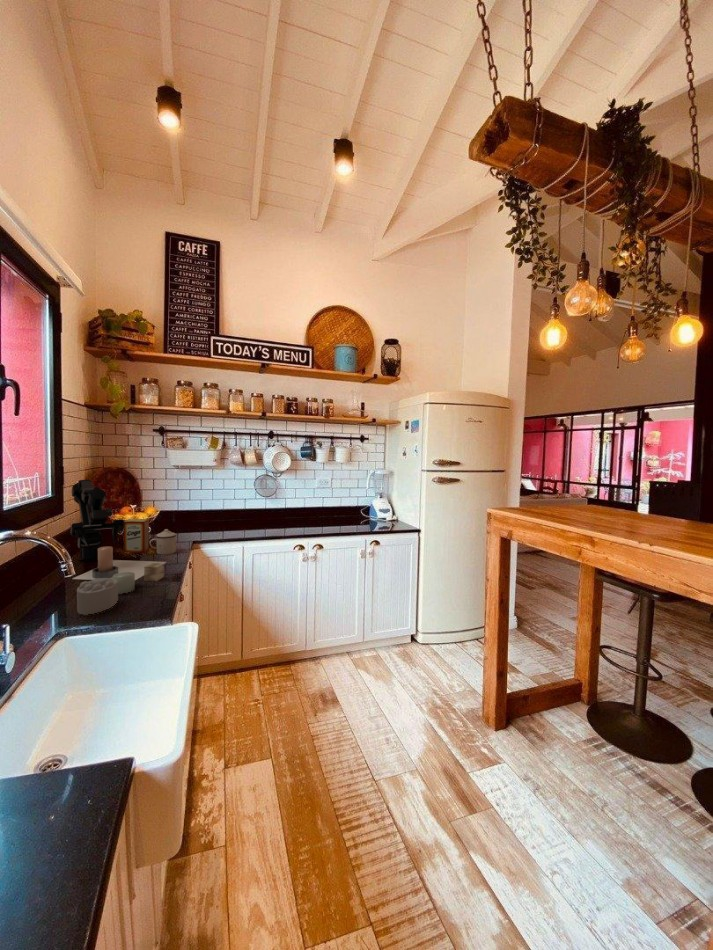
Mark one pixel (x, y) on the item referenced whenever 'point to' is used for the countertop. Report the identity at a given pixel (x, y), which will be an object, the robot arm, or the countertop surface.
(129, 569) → the board
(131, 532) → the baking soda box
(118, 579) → the sage jar
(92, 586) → the lumpy-topped squat cylinder
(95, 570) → the metal collar
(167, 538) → the teacup with lid
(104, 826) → the countertop surface
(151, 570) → the birch block
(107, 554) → the pink cylinder
